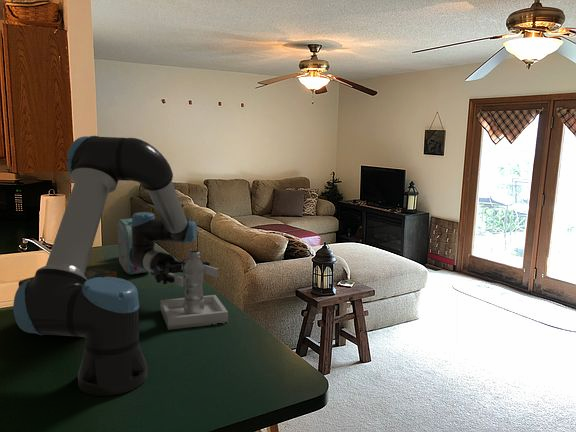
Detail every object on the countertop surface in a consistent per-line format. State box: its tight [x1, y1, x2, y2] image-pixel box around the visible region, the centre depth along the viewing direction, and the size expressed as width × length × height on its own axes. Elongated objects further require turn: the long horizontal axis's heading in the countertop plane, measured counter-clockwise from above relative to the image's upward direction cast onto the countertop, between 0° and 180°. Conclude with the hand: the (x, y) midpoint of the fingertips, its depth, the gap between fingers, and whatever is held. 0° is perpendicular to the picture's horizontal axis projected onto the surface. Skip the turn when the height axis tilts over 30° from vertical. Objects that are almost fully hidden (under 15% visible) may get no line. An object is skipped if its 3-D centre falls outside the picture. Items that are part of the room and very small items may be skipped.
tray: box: [160, 294, 229, 330], centre depth 148 cm, size 16×18×4 cm
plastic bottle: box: [182, 249, 205, 314], centre depth 146 cm, size 6×7×20 cm
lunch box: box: [117, 217, 151, 275], centre depth 194 cm, size 27×10×21 cm, turn 29°
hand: (200, 277), depth 143 cm, fingers open, 13 cm apart
